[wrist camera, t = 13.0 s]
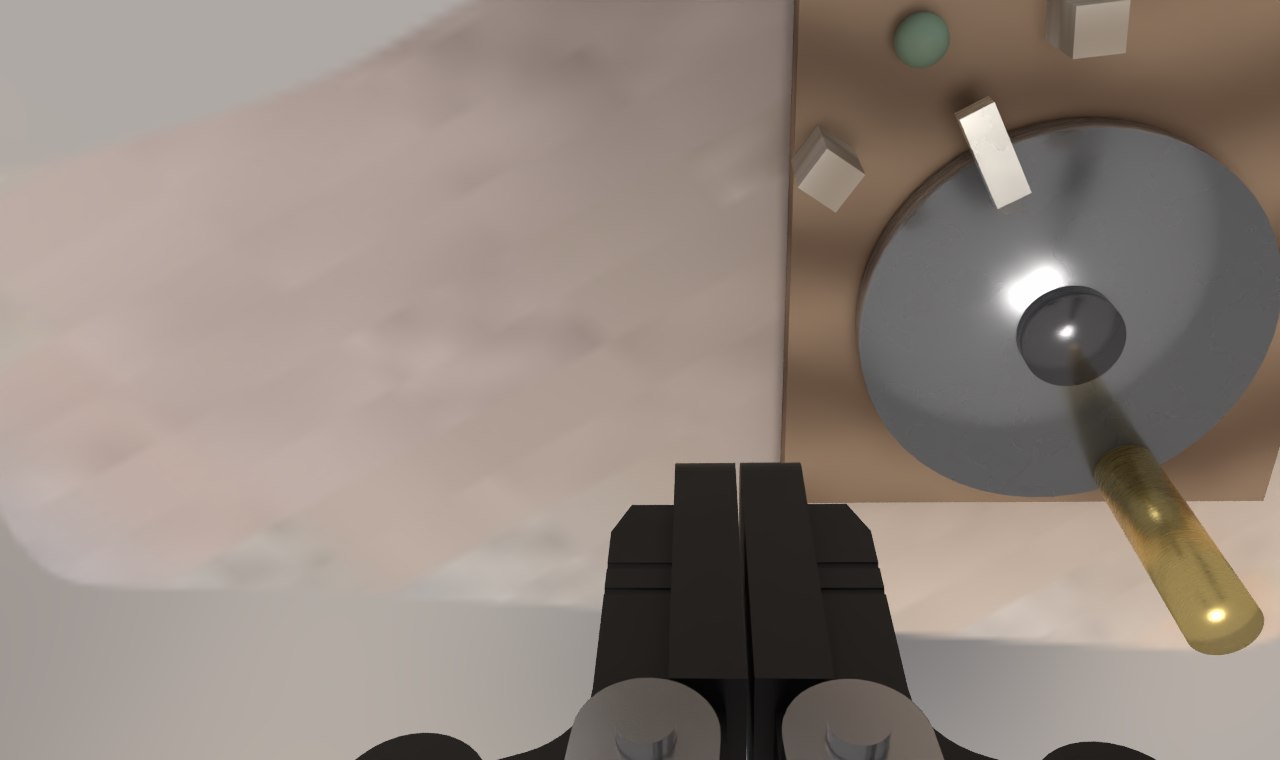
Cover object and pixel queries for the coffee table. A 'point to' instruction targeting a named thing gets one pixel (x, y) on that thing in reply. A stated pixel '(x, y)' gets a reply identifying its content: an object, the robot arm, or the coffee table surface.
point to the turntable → (931, 139)
